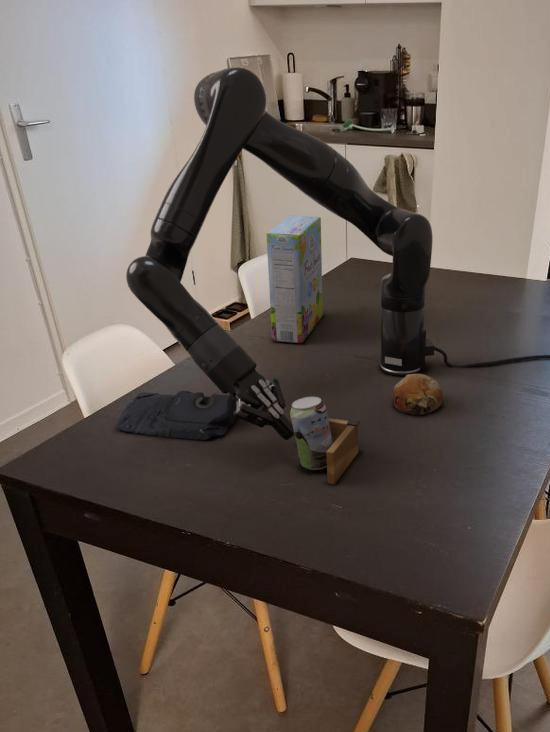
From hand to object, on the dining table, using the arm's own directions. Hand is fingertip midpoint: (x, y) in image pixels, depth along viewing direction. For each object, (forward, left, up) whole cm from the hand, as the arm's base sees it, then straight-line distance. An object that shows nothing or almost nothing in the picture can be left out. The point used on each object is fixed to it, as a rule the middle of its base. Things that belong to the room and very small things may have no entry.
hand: (291, 436), depth 118 cm
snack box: (-7, -66, -5) cm, 66 cm away
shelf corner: (-4, +2, -5) cm, 7 cm away
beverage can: (-3, +3, -5) cm, 6 cm away
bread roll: (-26, -17, -5) cm, 31 cm away
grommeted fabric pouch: (+20, -20, -5) cm, 29 cm away
